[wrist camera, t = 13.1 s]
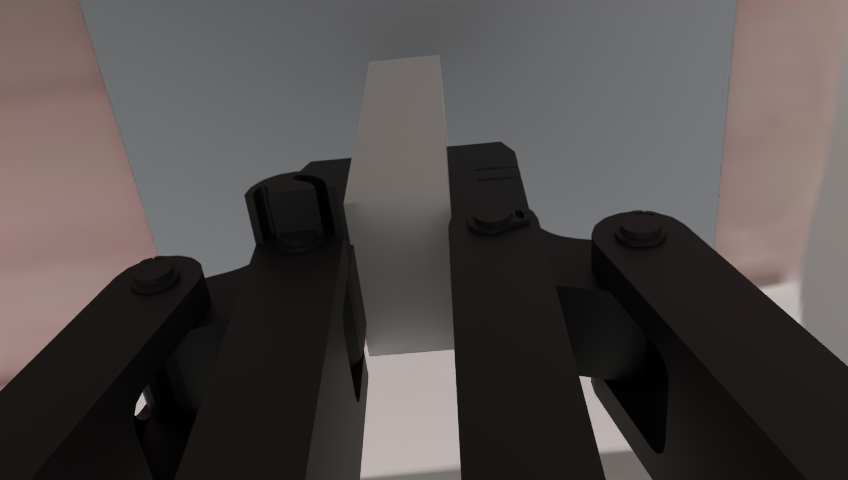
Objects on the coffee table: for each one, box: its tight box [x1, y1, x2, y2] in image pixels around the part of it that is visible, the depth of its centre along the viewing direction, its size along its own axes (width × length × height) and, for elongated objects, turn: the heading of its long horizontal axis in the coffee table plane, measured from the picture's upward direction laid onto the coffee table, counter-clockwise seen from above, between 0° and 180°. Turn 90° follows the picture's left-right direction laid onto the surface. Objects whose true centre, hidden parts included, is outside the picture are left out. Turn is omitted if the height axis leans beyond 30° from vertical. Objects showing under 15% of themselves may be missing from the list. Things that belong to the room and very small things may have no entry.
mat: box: [79, 0, 737, 278], centre depth 23 cm, size 18×18×1 cm
